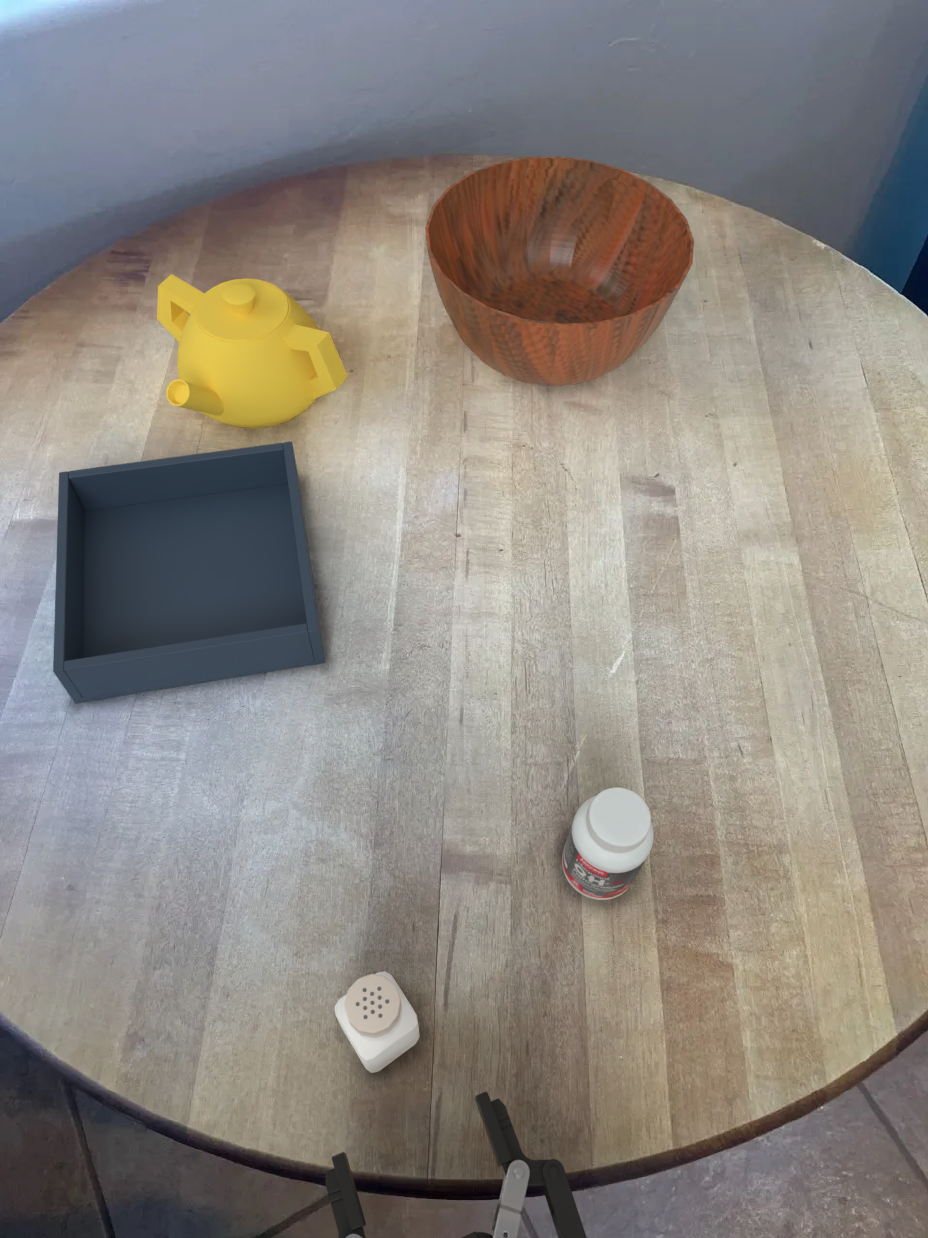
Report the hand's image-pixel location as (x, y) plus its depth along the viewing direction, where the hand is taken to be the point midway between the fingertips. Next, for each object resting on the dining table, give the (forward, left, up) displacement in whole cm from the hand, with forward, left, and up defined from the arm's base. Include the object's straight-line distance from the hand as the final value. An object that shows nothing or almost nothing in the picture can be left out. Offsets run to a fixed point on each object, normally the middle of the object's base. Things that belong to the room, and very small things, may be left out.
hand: (410, 1124), depth 55 cm
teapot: (-5, +65, -6) cm, 66 cm away
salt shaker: (-1, +6, -6) cm, 9 cm away
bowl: (+26, +69, -6) cm, 74 cm away
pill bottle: (+16, +14, -6) cm, 22 cm away
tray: (-11, +44, -6) cm, 46 cm away
